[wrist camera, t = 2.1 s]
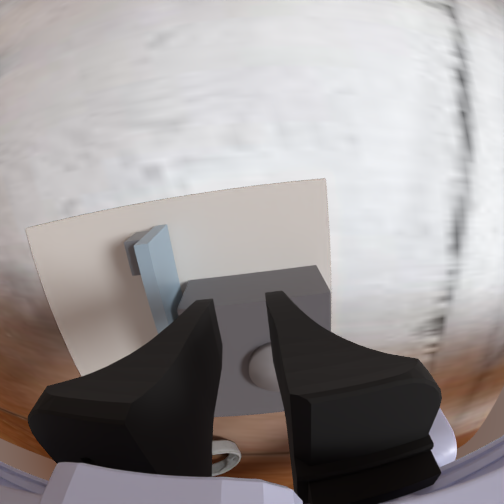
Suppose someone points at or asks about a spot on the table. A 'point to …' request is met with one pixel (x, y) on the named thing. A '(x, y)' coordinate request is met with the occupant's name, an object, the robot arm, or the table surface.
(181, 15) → the table surface
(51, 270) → the mat
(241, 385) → the camera housing
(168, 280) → the side door
